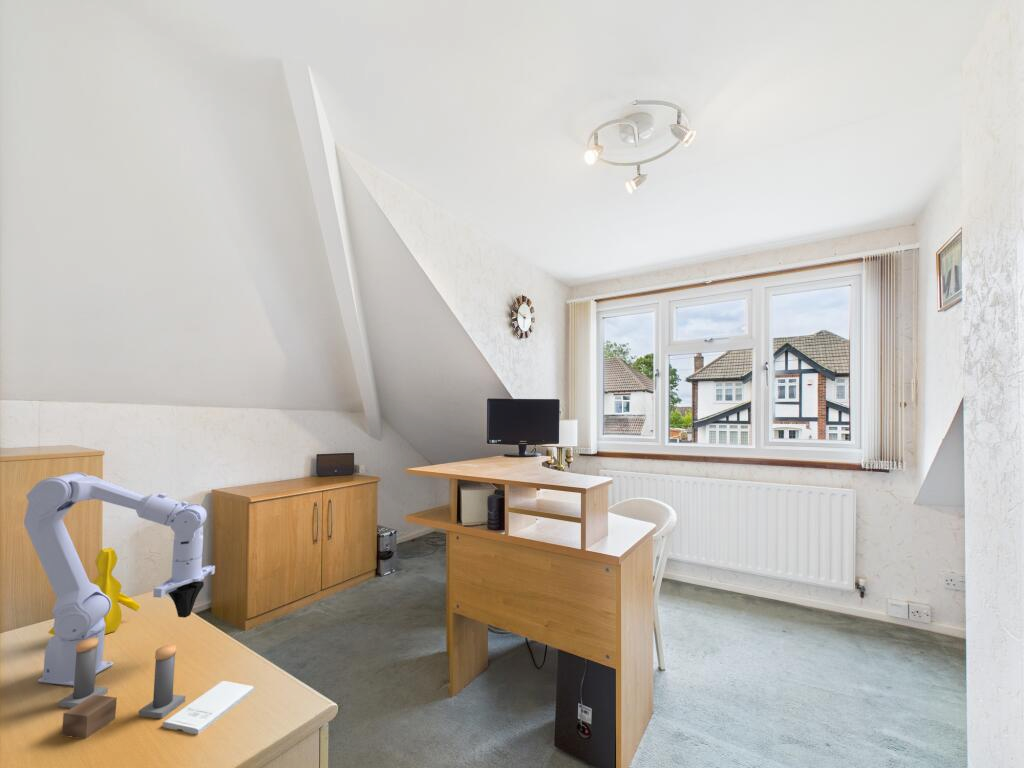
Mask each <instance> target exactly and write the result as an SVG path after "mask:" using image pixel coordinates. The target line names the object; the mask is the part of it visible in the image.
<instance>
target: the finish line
mask: <svg viewBox="0 0 1024 768" xmlns="http://www.w3.org/2000/svg"><path fill="white" fill-rule="evenodd" d="M97 646H98V638H88V639H85V640H82V641H80V642H78V643H77V644H76V665H75V678H74V686H73V691H72V693H71V694H69V695H67V696H65V697H64V698H62V699H60V700H58V701H57V702H58V704H57V705H58V708H59V707H60V708H68V709H71V708H73V707H75V706H76V705H78V704H80V703H81V702H83V701H85V700H86V699H88V698H90V697H91V696H93V695H99V696H105V694H107V693H108V690H109V689H108V688H109V687H108V686H107V687H106V686H97V685H96V686H95V683H96V682H95V681H96V674H95V671H96V657H97ZM154 653H155V654H154V655H155V656H154V659H155V663H154V666H155V667H154V681H153V683H154V684H153V696H152V701H151V702H149V703H147V704H145V706H143V707H142V708H140V709H139V710H138V716H139V717H143V718H144V717H145V718H152V719H164V717H166V716H167V715H168V714H170V713H172V711H174V710H175V709H176V708H177V707H179V706H181V705H182V704H183V703H184V702H185V701H186V695H181V694H174V682H175V679H174V678H175V664H176V663H175V662H176V653H177V645H176V644H167V645H163V646H161V647H159V648H157V649H156V650H155V652H154Z"/></svg>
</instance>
